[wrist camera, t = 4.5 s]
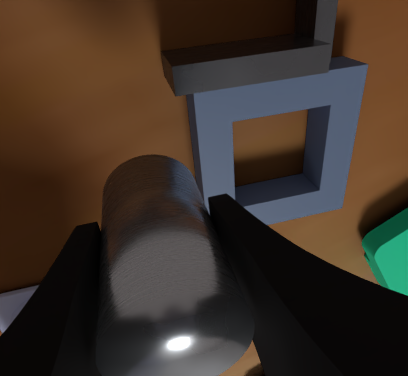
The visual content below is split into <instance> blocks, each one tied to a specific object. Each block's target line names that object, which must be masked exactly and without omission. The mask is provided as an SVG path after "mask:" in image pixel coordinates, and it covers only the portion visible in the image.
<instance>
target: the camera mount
mask: <svg viewBox="0 0 408 376" xmlns="http://www.w3.org/2000/svg"><path fill="white" fill-rule="evenodd" d="M362 247H363V248H364V250H365V252H366V254H365V255H364V256H365V258H366V260H367V262H368V264H369V266H370V268H371V270H372V272H373V274H374V276H375V278H376V279H377V281H378V283H379V284H380V285H381V286H383V287H385V288H388V289H391V290H393V291H396V292H399V293H402V294H404V295H407V296H408V208H406V209H405V210H403V211H401V212H400V213H398V214H397V215H395V216H394V217H392V218H390V219H389V220H387V221H386V222H384V223H383V224H381V225H379V226H378V227H376V228H375V229H373V230H372V231H370V232H369V233H367V234H366V236H365V237H364V238H363V240H362Z"/></svg>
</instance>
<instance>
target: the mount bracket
mask: <svg viewBox="0 0 408 376" xmlns="http://www.w3.org/2000/svg"><path fill="white" fill-rule="evenodd" d="M337 4H338V0H297V2H296V18H295V33H294V34H287V35H279V36H272V37H264V38H257V39H249V40H242V41H234V42H227V43H220V44H212V45H205V46H197V47H190V48H182V49H175V50H167V51H161V56H162V63H163V70H164V76H165V78H166V80H167V82H168V84H169V85H170V87H171V89H172V91H173V93H174V94H175V96H181V95H188V94H194V93H201V92H207V91H213V90H220V89H226V88H233V87H239V86H246V85H252V84H258V83H265V82H271V81H278V80H284V79H291V78H297V77H303V76H310V75H316V74H323V73H328V72H329V63H330V62H331V54H332V45H333V37H334V29H335V21H336V12H337Z"/></svg>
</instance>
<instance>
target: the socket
mask: <svg viewBox="0 0 408 376" xmlns="http://www.w3.org/2000/svg"><path fill="white" fill-rule="evenodd" d="M367 68H368V64H366V63H363V62H359V61H356V60H353V59H350V58H347V57H344V56H340V57H334V58H331V62H330V63H329V72H328V73H323V74H316V75H310V76H303V77H297V78H291V79H284V80H278V81H271V82H265V83H258V84H252V85H246V86H239V87H233V88H226V89H220V90H213V91H207V92H201V93H194V94H188V95H186V97H187V106H188V115H189V123H190V132H191V141H192V150H193V159H194V167H195V176H196V184H197V186H198V189H199V191H200V193H201V196H202V198H203V200H204V203H205V205H206V208H207V210H208V212H209V204H208V197H212V196H216V195H221V194H225V193H227V194H228V195H230V196H231V197H232V198H233V199H234V200H236V201H237V202H238V203H239V204H240V205H242V206H243V207H244V208H245V209H246V210H248V211H249V212H250V213H251V214H253V215H254V216H255V217H257V218H258V219H259V220H261V221H262V222H263V223H265V224H266V225H269V224H274V223H278V222H283V221H287V220H291V219H296V218H300V217H305V216H309V215H314V214H318V213H322V212H327V211H331V210H336V209H340V208H342V206H343V200H344V195H345V189H346V184H347V178H348V173H349V167H350V162H351V156H352V151H353V145H354V140H355V134H356V129H357V123H358V118H359V112H360V107H361V101H362V96H363V90H364V85H365V79H366V74H367ZM304 109H308V120H307V131H306V141H305V152H304V163H303V173H302V174H297V175H292V176H287V177H282V178H277V179H272V180H267V181H262V182H257V183H252V184H248V185H243V186H238V187H235V183H234V157H233V131H232V122H234V121H240V120H246V119H252V118H257V117H263V116H269V115H275V114H281V113H286V112H292V111H298V110H304ZM209 215H210V212H209Z"/></svg>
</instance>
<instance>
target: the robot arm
mask: <svg viewBox="0 0 408 376" xmlns="http://www.w3.org/2000/svg"><path fill="white" fill-rule="evenodd" d="M208 204H209V212H210V217H211V219H212V222H213V224H214V227H215V229H216V231H217V234H218V236H219V238H220V241H221V243H222V245H223V248H224V250H225V253H226V255H227V257H228V260H229V262H230V264H231V267H232V269H233V272H234V274H235V276H236V279H237V281H238V283H239V286H240V288H241V290H242V293H243V295H244V298H245V300H246V302H247V305H248V307H249V309H250V312H251V314H252V317H253V319H254V325H255V329H254V336H253V339H252V340H253V342H254V345H255V347H256V350H257V353H258V356H259V359H260V362H261V364H262V367H263V370H264V373H265V376H408V296H407V295H404V294H402V293H399V292H396V291H393V290H391V289H388V288H385V287H383V286H380V285H378V284H375V283H373V282H370V281H368V280H365V279H363V278H360V277H358V276H356V275H354V274H351V273H349V272H347V271H345V270H343V269H340V268H338V267H336V266H334V265H332V264H330V263H328V262H326V261H324V260H322V259H320V258H318V257H317V256H315V255H313V254H311V253H309V252H307V251H305V250H304V249H302V248H300V247H299V246H297V245H295V244H294V243H292V242H291V241H289V240H288V239H286V238H285V237H283V236H282V235H280V234H279V233H277V232H276V231H274V230H273V229H271V228H270V227H269V226H267V225H266V224H265V223H263V222H262V221H261V220H259V219H258V218H257V217H255V216H254V215H253V214H251V213H250V212H249V211H248V210H246V209H245V208H244V207H243V206H242V205H240V204H239V203H238V202H237V201H236V200H234V199H233V198H232V197H231V196H230V195H228V194H227V193H225V194H221V195H216V196H212V197H208ZM100 242H101V231H100V228H99V226H98V223H97V222H93V223H88V224H84V225H79V226H76V228H75V229H74V230H73V232H72V234H71V235H70V237H69V239H68V240H67V242H66V244H65V245H64V247H63V249H62V250H61V252H60V254H59V255H58V257H57V259H56V260H55V262H54V263H53V265H52V266H51V268H50V269H49V271H48V273H47V274H46V276H45V277H44V279H43V280H42V282H41V283H40V285H37V286H32V287H28V288H24V289H19V290H15V291H11V292H6V293H2V294H0V330H1V332H2V333H3V334H2V335H1V336H0V376H102V375H101V374H100V372H99V370H98V368H97V365H96V336H97V313H98V289H99V266H100Z"/></svg>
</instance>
